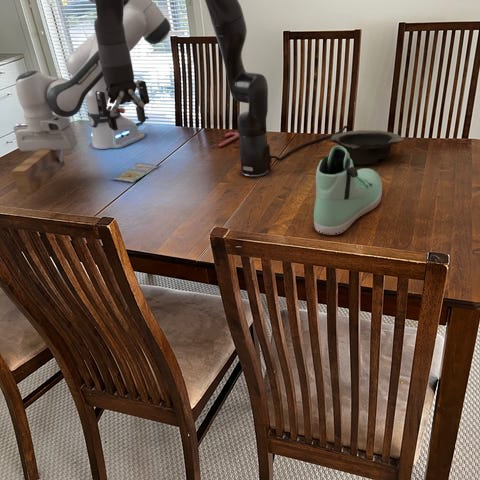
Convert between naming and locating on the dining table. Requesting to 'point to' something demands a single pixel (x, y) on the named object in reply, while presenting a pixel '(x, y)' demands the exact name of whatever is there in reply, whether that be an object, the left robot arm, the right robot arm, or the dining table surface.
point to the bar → (36, 171)
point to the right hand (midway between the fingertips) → (128, 125)
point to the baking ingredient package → (135, 172)
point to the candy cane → (235, 136)
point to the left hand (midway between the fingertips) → (52, 161)
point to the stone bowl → (367, 145)
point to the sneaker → (343, 192)
